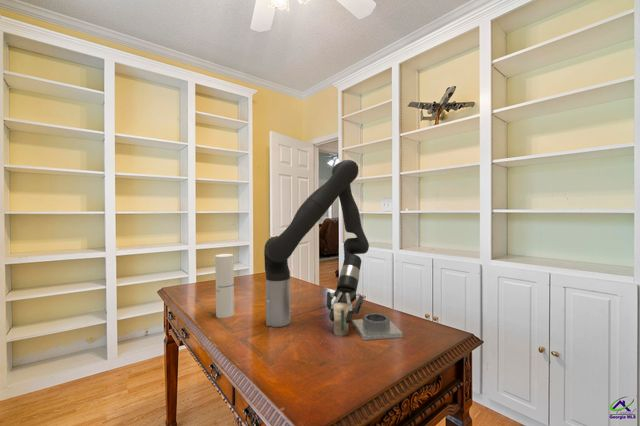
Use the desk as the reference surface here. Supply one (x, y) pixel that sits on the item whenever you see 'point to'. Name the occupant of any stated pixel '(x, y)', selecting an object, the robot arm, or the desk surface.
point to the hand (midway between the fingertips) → (339, 321)
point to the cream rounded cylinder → (340, 319)
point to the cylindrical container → (224, 285)
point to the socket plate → (376, 327)
